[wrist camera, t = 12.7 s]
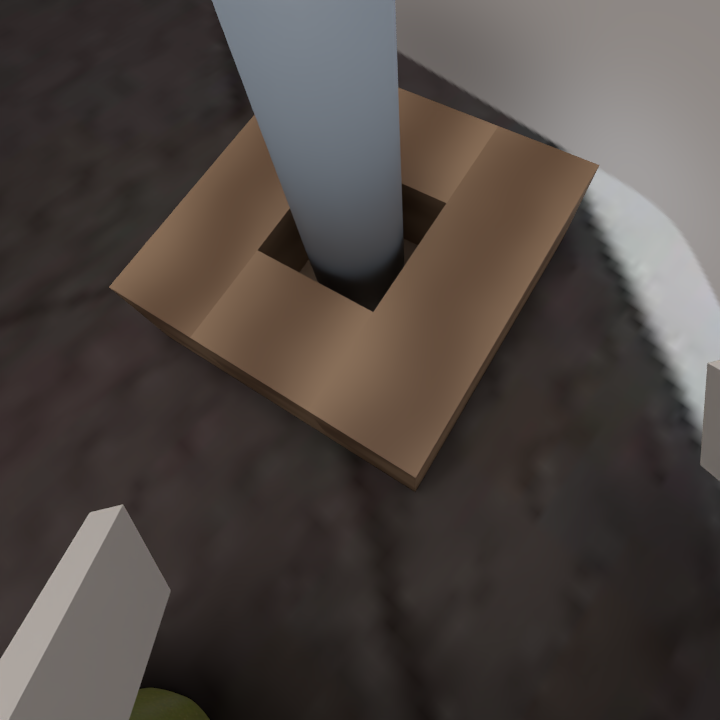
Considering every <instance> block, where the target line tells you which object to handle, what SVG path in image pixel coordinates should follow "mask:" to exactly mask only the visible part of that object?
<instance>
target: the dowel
mask: <svg viewBox="0 0 720 720" xmlns="http://www.w3.org/2000/svg"><path fill="white" fill-rule="evenodd" d="M212 2H213V5H214V7H215V10H216V13H217V15H218V18H219V21H220V23H221V26H222V29H223V31H224V34H225V37H226V39H227V42H228V45H229V47H230V50H231V53H232V55H233V58H234V61H235V63H236V66H237V69H238V71H239V74H240V77H241V79H242V82H243V85H244V87H245V90H246V93H247V95H248V98H249V101H250V103H251V106H252V109H253V111H254V114H255V117H256V119H257V122H258V125H259V127H260V130H261V133H262V135H263V138H264V141H265V143H266V146H267V149H268V151H269V154H270V157H271V159H272V162H273V165H274V167H275V170H276V173H277V175H278V178H279V181H280V183H281V186H282V189H283V191H284V194H285V197H286V199H287V202H288V205H289V207H290V210H291V213H292V215H293V218H294V220H295V223H296V226H297V228H298V231H299V234H300V236H301V239H302V242H303V244H304V247H305V250H306V252H307V255H308V258H309V260H310V263H311V266H312V268H313V271H314V274H315V276H316V279H317V282H318V283H320V284H322V285H323V286H325V287H327V288H329V289H331V290H333V291H335V292H337V293H338V294H340V295H342V296H344V297H346V298H348V299H350V300H352V301H353V302H355V303H357V304H359V305H361V306H363V307H365V308H367V309H368V310H370V311H372V312H374V310H375V309H376V307H377V306H378V304H379V303H380V301H381V300H382V298H383V297H384V295H385V294H386V293H387V291H388V290H389V288H390V287H391V285H392V284H393V282H394V281H395V279H396V278H397V276H398V275H399V273H400V272H401V270H402V269H403V267H404V240H403V212H402V183H401V155H400V126H399V98H398V69H397V41H396V15H395V14H396V12H395V0H212Z"/></svg>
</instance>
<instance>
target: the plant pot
mask: <svg viewBox="0 0 720 720" xmlns="http://www.w3.org/2000/svg"><path fill="white" fill-rule="evenodd" d="M129 720H210V719H209V718H208V717H207V715H206V714H205V713H204V711H203V710H202V709H201V708H200V707H199V706H198V705H197V704H196V703H195V702H194V701H192V700H191V699H189V698H187V697H185V696H182V695H179V694H177V693H174V692H171V691H167V690H163V689H157V688H143V689H139V690H138V694H137V697H136V700H135V703H134V706H133V709H132V712H131V715H130V718H129Z"/></svg>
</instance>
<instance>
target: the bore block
mask: <svg viewBox="0 0 720 720" xmlns="http://www.w3.org/2000/svg"><path fill="white" fill-rule="evenodd" d="M398 98H399V126H400V155H401V183H402V212H403V240H404V267H403V269H402V270H401V272H400V273H399V275H398V276H397V278H396V279H395V281H394V282H393V284H392V285H391V287H390V288H389V290H388V291H387V293H386V294H385V295H384V297H383V298H382V300H381V301H380V303H379V304H378V306H377V307H376V309H375V310H374V312H372V311H370V310H368V309H367V308H365V307H363V306H361V305H359V304H357V303H355V302H353V301H352V300H350V299H348V298H346V297H344V296H342V295H340V294H338V293H337V292H335V291H333V290H331V289H329V288H327V287H325V286H323V285H322V284H320V283H318V282H317V279H316V276H315V274H314V271H313V268H312V266H311V263H310V260H309V258H308V255H307V252H306V250H305V247H304V244H303V242H302V239H301V236H300V234H299V231H298V228H297V226H296V223H295V220H294V218H293V215H292V213H291V210H290V207H289V205H288V202H287V199H286V197H285V194H284V191H283V189H282V186H281V183H280V181H279V178H278V175H277V173H276V170H275V167H274V165H273V162H272V159H271V157H270V154H269V151H268V149H267V146H266V143H265V141H264V138H263V135H262V133H261V130H260V127H259V125H258V122H257V119H256V117H255V115H254V116H253V117H252V118H251V120H250V121H249V122H248V123H247V124H246V125H245V127H244V128H243V129H242V130H241V131H240V133H239V134H238V135H237V136H236V137H235V138H234V140H233V141H232V142H231V143H230V144H229V146H228V147H227V148H226V149H225V150H224V152H223V153H222V154H221V155H220V156H219V157H218V159H217V160H216V161H215V162H214V163H213V165H212V166H211V167H210V168H209V169H208V170H207V172H206V173H205V174H204V175H203V176H202V178H201V179H200V180H199V181H198V182H197V183H196V185H195V186H194V187H193V188H192V189H191V191H190V192H189V193H188V194H187V195H186V197H185V198H184V199H183V200H182V201H181V202H180V204H179V205H178V206H177V207H176V208H175V210H174V211H173V212H172V213H171V214H170V215H169V217H168V218H167V219H166V220H165V221H164V223H163V224H162V225H161V226H160V227H159V229H158V230H157V231H156V232H155V233H154V234H153V236H152V237H151V238H150V239H149V240H148V242H147V243H146V244H145V245H144V246H143V247H142V249H141V250H140V251H139V252H138V253H137V255H136V256H135V257H134V258H133V259H132V260H131V262H130V263H129V264H128V265H127V266H126V268H125V269H124V270H123V271H122V272H121V274H120V275H119V276H118V277H117V278H116V279H115V281H114V282H113V283H112V284H111V285H110V287H109V288H111V289H112V290H113V291H114V292H115V293H117V294H118V295H119V296H120V297H122V298H123V299H124V300H125V301H126V302H128V303H129V304H130V305H131V306H132V307H134V308H135V309H136V310H137V311H138V312H140V313H141V314H142V315H143V316H144V317H146V318H147V319H148V320H149V321H151V322H152V323H153V324H154V325H155V326H157V327H158V328H159V329H160V330H161V331H163V332H164V333H165V334H166V335H167V336H169V337H171V338H172V339H174V340H175V341H177V342H178V343H180V344H182V345H183V346H185V347H186V348H188V349H190V350H191V351H193V352H194V353H196V354H198V355H199V356H201V357H202V358H204V359H205V360H207V361H209V362H210V363H212V364H213V365H215V366H217V367H218V368H220V369H221V370H223V371H224V372H226V373H228V374H229V375H231V376H232V377H234V378H236V379H237V380H239V381H240V382H242V383H243V384H245V385H247V386H248V387H250V388H251V389H253V390H255V391H256V392H258V393H259V394H261V395H263V396H264V397H266V398H267V399H269V400H270V401H272V402H274V403H275V404H277V405H278V406H280V407H282V408H283V409H285V410H286V411H288V412H289V413H291V414H293V415H294V416H296V417H297V418H299V419H301V420H302V421H304V422H305V423H307V424H308V425H310V426H312V427H313V428H315V429H316V430H318V431H320V432H321V433H323V434H324V435H326V436H327V437H329V438H331V439H332V440H334V441H335V442H337V443H339V444H340V445H342V446H343V447H345V448H347V449H348V450H350V451H351V452H353V453H354V454H356V455H358V456H359V457H361V458H362V459H364V460H366V461H367V462H369V463H370V464H372V465H373V466H375V467H377V468H378V469H380V470H381V471H383V472H385V473H386V474H388V475H389V476H391V477H392V478H394V479H396V480H397V481H399V482H400V483H402V484H404V485H405V486H407V487H408V488H410V489H411V490H413V491H416V490H417V488H418V486H419V484H420V483H421V481H422V479H423V478H424V476H425V474H426V472H427V471H428V469H429V467H430V466H431V464H432V462H433V460H434V459H435V457H436V455H437V454H438V452H439V450H440V448H441V447H442V445H443V443H444V442H445V440H446V438H447V436H448V435H449V433H450V431H451V430H452V428H453V426H454V424H455V423H456V421H457V419H458V418H459V416H460V414H461V412H462V411H463V409H464V407H465V406H466V404H467V402H468V400H469V399H470V397H471V395H472V394H473V392H474V390H475V388H476V387H477V385H478V383H479V382H480V380H481V378H482V376H483V375H484V373H485V371H486V370H487V368H488V366H489V364H490V363H491V361H492V359H493V358H494V356H495V354H496V352H497V351H498V349H499V347H500V346H501V344H502V342H503V340H504V339H505V337H506V335H507V333H508V332H509V330H510V328H511V327H512V325H513V323H514V321H515V320H516V318H517V316H518V315H519V313H520V311H521V309H522V308H523V306H524V304H525V303H526V301H527V299H528V297H529V296H530V294H531V292H532V291H533V289H534V287H535V285H536V284H537V282H538V280H539V279H540V277H541V275H542V273H543V272H544V270H545V268H546V267H547V265H548V263H549V261H550V260H551V258H552V256H553V255H554V253H555V251H556V249H557V248H558V246H559V244H560V243H561V241H562V239H563V237H564V235H565V233H566V231H567V229H568V227H569V225H570V223H571V221H572V219H573V217H574V215H575V213H576V211H577V209H578V207H579V205H580V203H581V201H582V199H583V197H584V195H585V193H586V191H587V189H588V187H589V185H590V183H591V181H592V179H593V177H594V175H595V173H596V171H597V169H598V167H599V165H597V164H595V163H592V162H590V161H587V160H584V159H582V158H579V157H577V156H574V155H571V154H569V153H566V152H564V151H561V150H559V149H556V148H553V147H551V146H548V145H546V144H543V143H540V142H538V141H535V140H533V139H530V138H527V137H525V136H522V135H520V134H517V133H514V132H512V131H509V130H507V129H504V128H502V127H499V126H496V125H494V124H491V123H489V122H486V121H483V120H481V119H478V118H476V117H473V116H470V115H468V114H465V113H463V112H460V111H457V110H455V109H452V108H450V107H447V106H445V105H442V104H439V103H437V102H434V101H432V100H429V99H426V98H424V97H421V96H419V95H416V94H413V93H411V92H408V91H406V90H403V89H400V88H398Z"/></svg>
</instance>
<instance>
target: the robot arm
mask: <svg viewBox="0 0 720 720" xmlns="http://www.w3.org/2000/svg"><path fill="white" fill-rule="evenodd" d="M700 465H701V466H702V467H704V468H705V469H706V470H707V471H708V472H709V473H711V474H712V475H713V476H714V477H715V478H717V479H718V480H719V481H720V360H718V361H714V362H710V363H708V364H707V378H706V392H705V405H704V419H703V433H702V447H701V460H700ZM170 592H171V590H170V588H169V587H168V585H167V583H166V581H165V579H164V578H163V576H162V574H161V572H160V570H159V568H158V567H157V565H156V563H155V561H154V559H153V558H152V556H151V554H150V552H149V550H148V549H147V547H146V545H145V543H144V541H143V540H142V538H141V536H140V534H139V532H138V531H137V529H136V527H135V525H134V523H133V522H132V520H131V518H130V516H129V514H128V512H127V511H126V509H125V507H124V505H119V506H115V507H111V508H106V509H102V510H98V511H94V512H90V513H89V515H88V516H87V518H86V520H85V521H84V523H83V525H82V526H81V528H80V529H79V531H78V533H77V534H76V536H75V538H74V539H73V541H72V543H71V544H70V546H69V547H68V549H67V551H66V552H65V554H64V556H63V557H62V559H61V561H60V562H59V564H58V566H57V567H56V569H55V570H54V572H53V574H52V575H51V577H50V579H49V580H48V582H47V584H46V585H45V587H44V589H43V590H42V592H41V593H40V595H39V597H38V598H37V600H36V602H35V603H34V605H33V607H32V608H31V610H30V611H29V613H28V615H27V616H26V618H25V620H24V621H23V623H22V625H21V626H20V628H19V630H18V631H17V633H16V634H15V636H14V638H13V639H12V641H11V643H10V644H9V646H8V648H7V649H6V651H5V653H4V654H3V656H2V657H1V659H0V720H129V718H130V715H131V712H132V709H133V706H134V703H135V700H136V697H137V694H138V690H139V687H140V684H141V681H142V678H143V675H144V672H145V669H146V666H147V663H148V660H149V656H150V653H151V650H152V647H153V644H154V641H155V638H156V635H157V632H158V629H159V626H160V622H161V619H162V616H163V613H164V610H165V607H166V604H167V601H168V598H169V595H170Z"/></svg>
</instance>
